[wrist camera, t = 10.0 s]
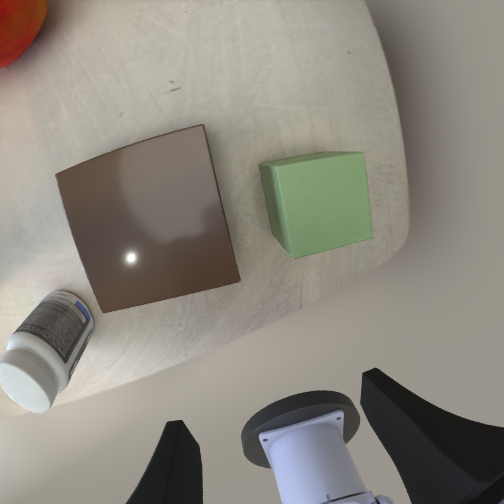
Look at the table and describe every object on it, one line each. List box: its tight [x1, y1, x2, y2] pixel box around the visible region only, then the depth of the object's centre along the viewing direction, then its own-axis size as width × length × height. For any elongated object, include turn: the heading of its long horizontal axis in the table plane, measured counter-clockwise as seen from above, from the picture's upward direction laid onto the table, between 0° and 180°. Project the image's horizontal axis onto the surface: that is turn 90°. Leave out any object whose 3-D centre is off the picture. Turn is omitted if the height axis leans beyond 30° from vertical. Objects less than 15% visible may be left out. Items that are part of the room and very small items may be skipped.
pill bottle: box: [0, 291, 94, 413], centre depth 14 cm, size 5×5×8 cm
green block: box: [259, 152, 372, 259], centre depth 16 cm, size 5×5×5 cm
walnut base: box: [55, 124, 241, 313], centre depth 15 cm, size 8×8×4 cm
